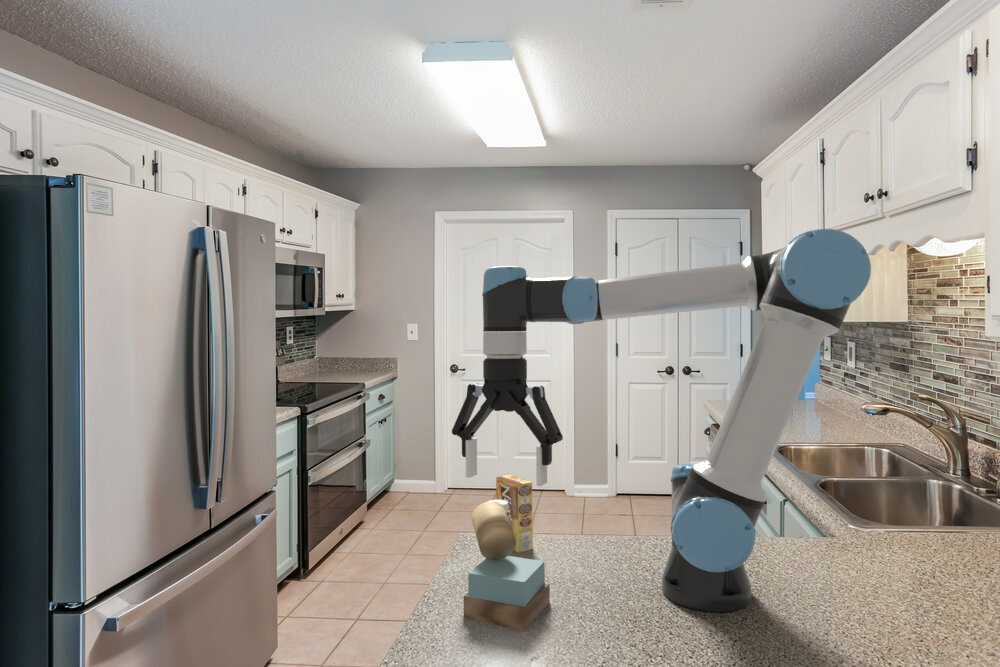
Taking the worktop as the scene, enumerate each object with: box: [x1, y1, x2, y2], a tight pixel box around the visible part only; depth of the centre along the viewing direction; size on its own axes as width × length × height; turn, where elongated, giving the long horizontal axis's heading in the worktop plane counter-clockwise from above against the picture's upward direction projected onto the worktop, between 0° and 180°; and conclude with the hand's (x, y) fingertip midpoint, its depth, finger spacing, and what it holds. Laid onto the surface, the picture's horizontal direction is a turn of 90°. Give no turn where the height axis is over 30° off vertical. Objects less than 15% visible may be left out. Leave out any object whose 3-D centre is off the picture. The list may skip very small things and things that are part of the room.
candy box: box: [495, 474, 534, 553], centre depth 136 cm, size 9×4×15 cm, turn 33°
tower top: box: [467, 555, 546, 607], centre depth 105 cm, size 10×10×4 cm
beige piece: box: [471, 500, 516, 560], centre depth 111 cm, size 6×6×8 cm
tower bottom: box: [463, 582, 551, 632], centre depth 106 cm, size 11×11×4 cm
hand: (505, 480), depth 106 cm, fingers open, 13 cm apart
